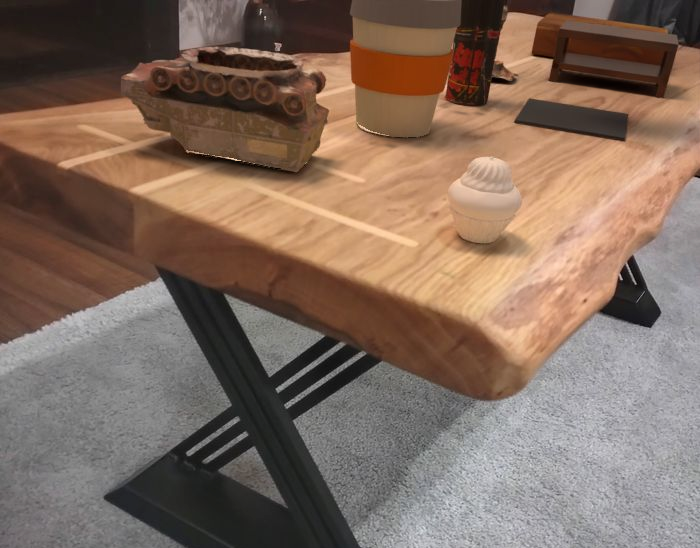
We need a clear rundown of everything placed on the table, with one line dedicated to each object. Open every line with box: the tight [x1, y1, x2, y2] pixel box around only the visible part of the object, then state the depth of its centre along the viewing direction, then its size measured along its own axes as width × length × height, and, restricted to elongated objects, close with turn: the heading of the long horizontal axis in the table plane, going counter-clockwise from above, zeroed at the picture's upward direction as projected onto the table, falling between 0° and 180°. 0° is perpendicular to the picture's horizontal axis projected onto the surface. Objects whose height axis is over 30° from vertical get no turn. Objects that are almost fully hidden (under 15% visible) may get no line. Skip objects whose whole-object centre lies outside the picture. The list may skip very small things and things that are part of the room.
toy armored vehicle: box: [120, 45, 330, 173], centre depth 76 cm, size 13×20×10 cm, turn 70°
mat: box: [513, 97, 629, 142], centre depth 105 cm, size 14×14×1 cm
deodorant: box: [445, 0, 505, 107], centre depth 105 cm, size 6×6×15 cm
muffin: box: [447, 155, 523, 244], centre depth 64 cm, size 6×6×7 cm
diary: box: [531, 11, 669, 66], centre depth 148 cm, size 23×19×6 cm
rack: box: [548, 20, 680, 99], centre depth 126 cm, size 18×11×8 cm, turn 71°
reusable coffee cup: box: [349, 0, 462, 139], centre depth 90 cm, size 13×13×15 cm
